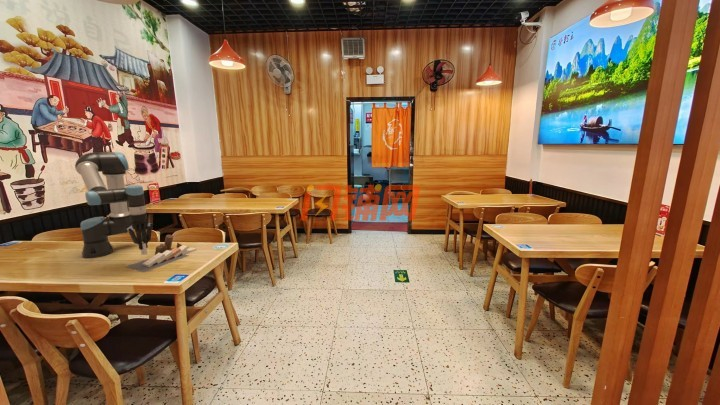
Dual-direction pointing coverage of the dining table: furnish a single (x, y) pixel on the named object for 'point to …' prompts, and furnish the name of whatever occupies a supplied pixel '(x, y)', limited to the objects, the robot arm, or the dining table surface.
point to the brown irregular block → (166, 245)
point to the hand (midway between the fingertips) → (144, 254)
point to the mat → (142, 268)
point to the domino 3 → (175, 251)
